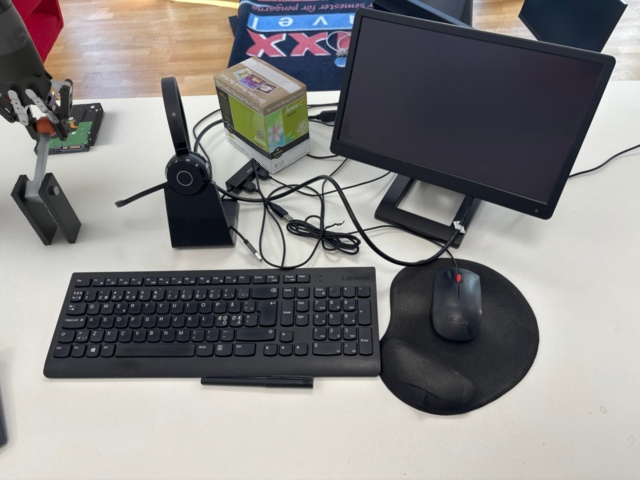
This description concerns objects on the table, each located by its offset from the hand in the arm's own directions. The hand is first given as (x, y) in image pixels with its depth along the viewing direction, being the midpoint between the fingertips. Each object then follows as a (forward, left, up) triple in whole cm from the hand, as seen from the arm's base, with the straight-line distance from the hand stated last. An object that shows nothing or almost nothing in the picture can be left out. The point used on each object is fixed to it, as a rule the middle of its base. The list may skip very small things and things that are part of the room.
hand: (53, 138), depth 85 cm
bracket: (0, -11, -12) cm, 17 cm away
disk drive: (-6, +18, -13) cm, 23 cm away
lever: (0, -5, -1) cm, 5 cm away
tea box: (+34, +10, -13) cm, 38 cm away
